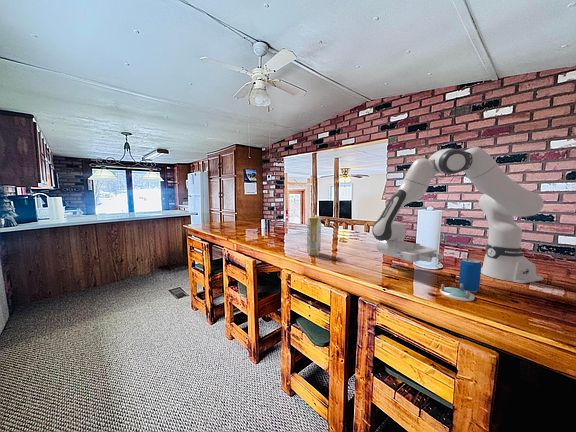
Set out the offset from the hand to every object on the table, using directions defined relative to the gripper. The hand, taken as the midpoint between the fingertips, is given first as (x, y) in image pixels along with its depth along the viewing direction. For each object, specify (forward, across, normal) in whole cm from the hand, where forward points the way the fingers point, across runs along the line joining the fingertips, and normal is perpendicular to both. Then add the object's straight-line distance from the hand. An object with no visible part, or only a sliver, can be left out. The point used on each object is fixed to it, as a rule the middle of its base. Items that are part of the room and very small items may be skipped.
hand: (436, 258), depth 102 cm
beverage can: (+12, 0, +10) cm, 16 cm away
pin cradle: (+12, -9, +10) cm, 18 cm away
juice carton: (-61, -20, +11) cm, 65 cm away
